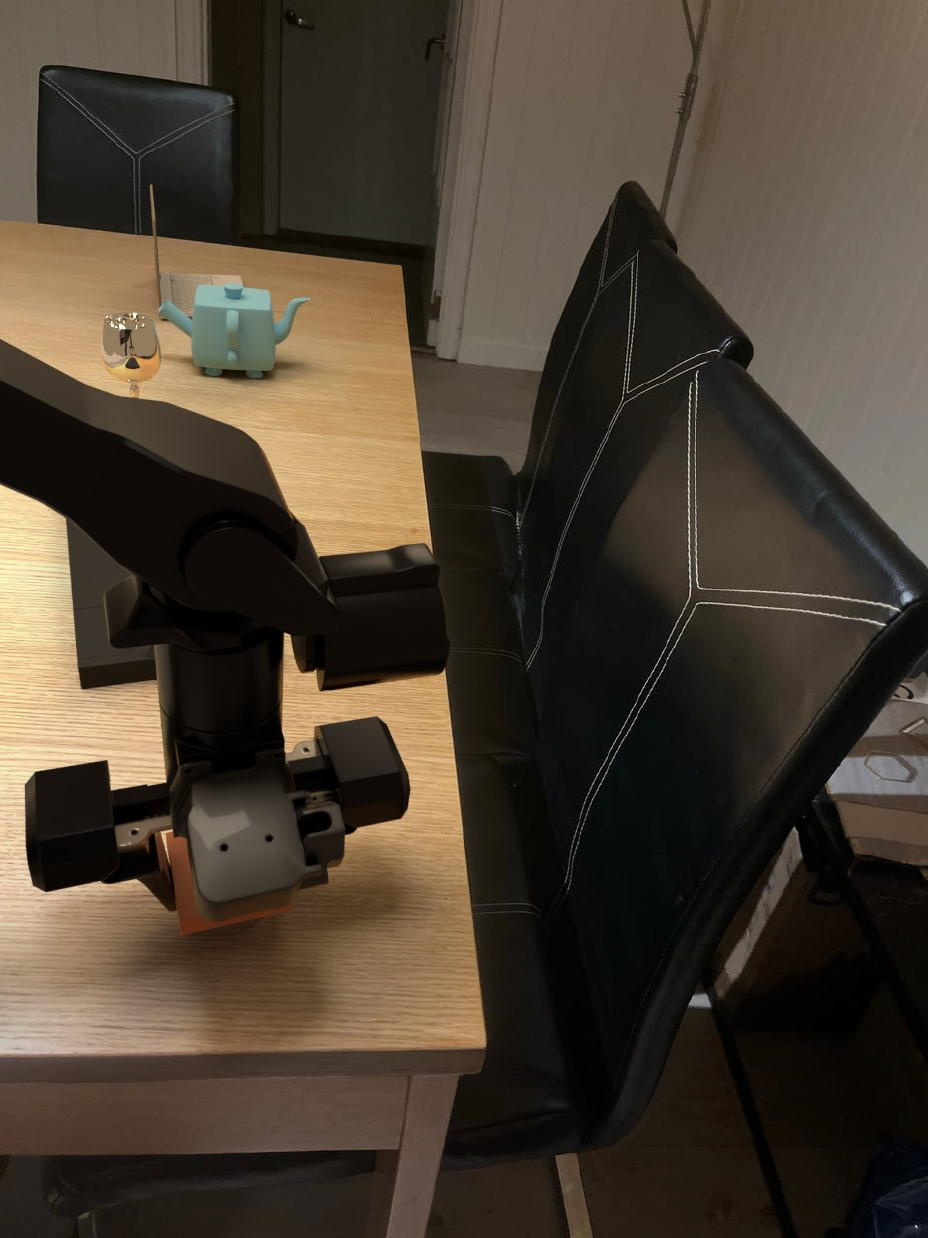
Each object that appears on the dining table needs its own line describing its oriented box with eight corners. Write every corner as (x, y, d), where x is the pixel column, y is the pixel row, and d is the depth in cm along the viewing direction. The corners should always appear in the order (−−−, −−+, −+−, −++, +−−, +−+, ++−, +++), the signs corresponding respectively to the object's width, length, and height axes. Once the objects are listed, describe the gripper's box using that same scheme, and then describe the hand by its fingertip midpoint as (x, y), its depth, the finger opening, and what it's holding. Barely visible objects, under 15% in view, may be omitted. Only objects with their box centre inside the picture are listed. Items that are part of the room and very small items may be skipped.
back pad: (276, 666, 70) (276, 646, 69) (81, 693, 65) (78, 672, 64) (220, 495, 89) (219, 477, 88) (66, 505, 84) (63, 486, 83)
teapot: (156, 382, 108) (150, 296, 102) (165, 338, 118) (160, 258, 112) (310, 390, 112) (313, 308, 106) (305, 346, 122) (308, 270, 116)
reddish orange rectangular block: (183, 964, 50) (179, 920, 47) (169, 876, 54) (165, 832, 52) (291, 937, 52) (293, 894, 50) (270, 855, 56) (270, 812, 54)
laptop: (253, 323, 127) (252, 225, 119) (158, 320, 123) (152, 218, 115) (241, 280, 140) (239, 189, 132) (155, 276, 136) (148, 183, 128)
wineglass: (108, 443, 94) (96, 330, 87) (110, 418, 99) (98, 309, 92) (166, 443, 96) (159, 332, 89) (165, 419, 100) (158, 311, 93)
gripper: (2, 869, 34) (57, 1075, 43) (464, 779, 41) (426, 973, 50) (4, 676, 42) (50, 885, 51) (390, 628, 49) (369, 820, 58)
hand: (228, 892), depth 52 cm, fingers closed on reddish orange rectangular block, 6 cm apart
